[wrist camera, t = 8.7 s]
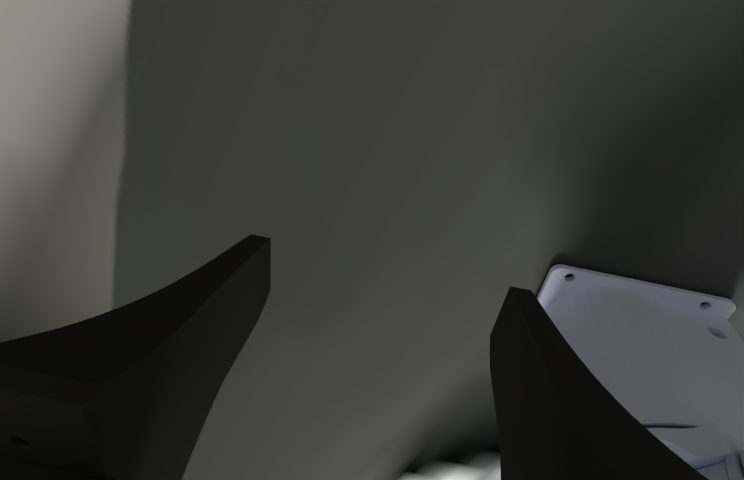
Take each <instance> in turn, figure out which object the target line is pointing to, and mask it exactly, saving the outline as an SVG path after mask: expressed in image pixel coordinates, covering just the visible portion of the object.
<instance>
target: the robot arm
mask: <svg viewBox="0 0 744 480" xmlns="http://www.w3.org/2000/svg"><path fill="white" fill-rule="evenodd" d="M270 243H271V238H266V237H261V236H256V235H249V236H248V237H246V238H245V239H243V240H242V241H240V242H239V243H237V244H235V245H234V246H232V247H231V248H230V249H228V250H227V251H225V252H223V253H222V254H220V255H219V256H217V257H216V258H214V259H213V260H211V261H210V262H208V263H206V264H205V265H203V266H202V267H200V268H199V269H197V270H195V271H193V272H192V273H190V274H188V275H186V276H185V277H183V278H181V279H179V280H178V281H176V282H174V283H172V284H170V285H169V286H167V287H165V288H163V289H161V290H159V291H157V292H154V293H152V294H150V295H148V296H146V297H144V298H141V299H139V300H137V301H135V302H132V303H130V304H127V305H125V306H122V307H119V308H117V309H114V310H112V311H109V312H106V313H104V314H101V315H99V316H96V317H93V318H90V319H87V320H84V321H81V322H78V323H74V324H71V325H68V326H64V327H61V328H58V329H54V330H50V331H47V332H43V333H39V334H34V335H30V336H26V337H22V338H18V339H14V340H10V341H5V342H0V480H181V479H182V477H183V474H184V472H185V469H186V467H187V464H188V461H189V459H190V456H191V454H192V451H193V449H194V447H195V444H196V442H197V439H198V437H199V435H200V432H201V430H202V427H203V425H204V423H205V420H206V418H207V416H208V413H209V411H210V409H211V407H212V404H213V402H214V400H215V397H216V395H217V393H218V391H219V389H220V387H221V385H222V383H223V381H224V379H225V377H226V375H227V374H228V372H229V370H230V368H231V367H232V365H233V363H234V361H235V360H236V358H237V356H238V354H239V353H240V351H241V349H242V347H243V346H244V344H245V342H246V340H247V339H248V337H249V335H250V333H251V332H252V330H253V328H254V326H255V324H256V323H257V321H258V319H259V317H260V314H261V312H262V310H263V307H264V305H265V302H266V300H267V297H268V295H269V292H270ZM567 274H573V275H572V276H571V277H565V276H566V275H567ZM703 302H706V303H705V304H702V305H700V304H701V303H703ZM735 309H736V306H735V304H734V303H733V302H732V301H731V300H730V299H728V298H723V297H719V296H714V295H709V294H704V293H699V292H694V291H689V290H684V289H680V288H675V287H670V286H665V285H660V284H655V283H650V282H645V281H641V280H636V279H631V278H626V277H621V276H616V275H611V274H606V273H602V272H597V271H592V270H587V269H582V268H577V267H572V266H567V265H563V264H558V265H554V266H553V267H551V269H550V270H549V272H548V275H547V277H546V279H545V281H544V283H543V286H542V288H541V290H540V292H539V294H538V297H537V298H536V297H535V295H534V294H533V292H532V291H531V290H526V289H521V288H516V287H511V286H510V288H509V291H508V293H507V296H506V298H505V300H504V303H503V305H502V308H501V310H500V313H499V315H498V318H497V320H496V323H495V325H494V327H493V330H492V332H491V335H490V371H491V379H492V387H493V395H494V403H495V411H496V418H497V426H498V433H499V443H500V459H501V480H744V342H743V340H742V339H741V338H740V336H739V335H738V333H737V332H736V331H735V329H734V328H733V327H732V325H731V324H730V323H729V321H728V319H729V317H730V316H731V315H732V314H733V312H734V311H735Z"/></svg>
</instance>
